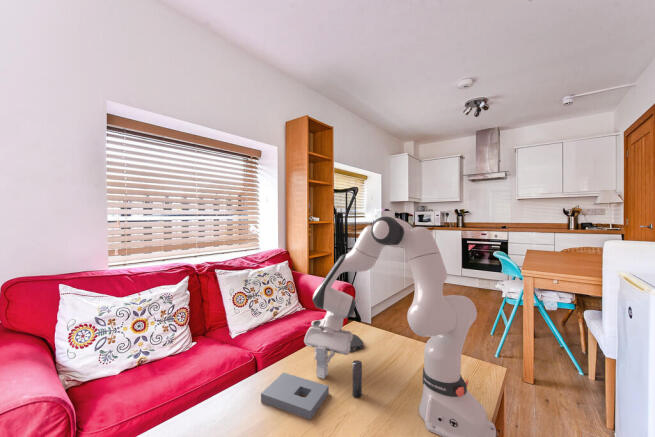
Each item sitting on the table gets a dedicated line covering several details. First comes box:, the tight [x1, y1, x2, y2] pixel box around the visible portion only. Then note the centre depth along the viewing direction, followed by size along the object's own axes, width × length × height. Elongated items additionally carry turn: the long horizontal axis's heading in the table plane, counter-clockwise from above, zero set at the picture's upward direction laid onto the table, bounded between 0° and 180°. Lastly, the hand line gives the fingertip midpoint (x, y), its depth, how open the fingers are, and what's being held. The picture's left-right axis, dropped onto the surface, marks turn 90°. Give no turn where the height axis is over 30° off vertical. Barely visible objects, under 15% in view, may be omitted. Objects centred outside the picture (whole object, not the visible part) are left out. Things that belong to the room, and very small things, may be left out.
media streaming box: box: [349, 333, 364, 353], centre depth 139 cm, size 15×15×3 cm
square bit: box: [316, 344, 329, 380], centre depth 112 cm, size 3×3×12 cm
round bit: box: [352, 359, 363, 399], centre depth 101 cm, size 3×3×12 cm
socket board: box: [260, 372, 330, 421], centre depth 99 cm, size 20×14×3 cm
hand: (321, 360), depth 112 cm, fingers closed on square bit, 3 cm apart
